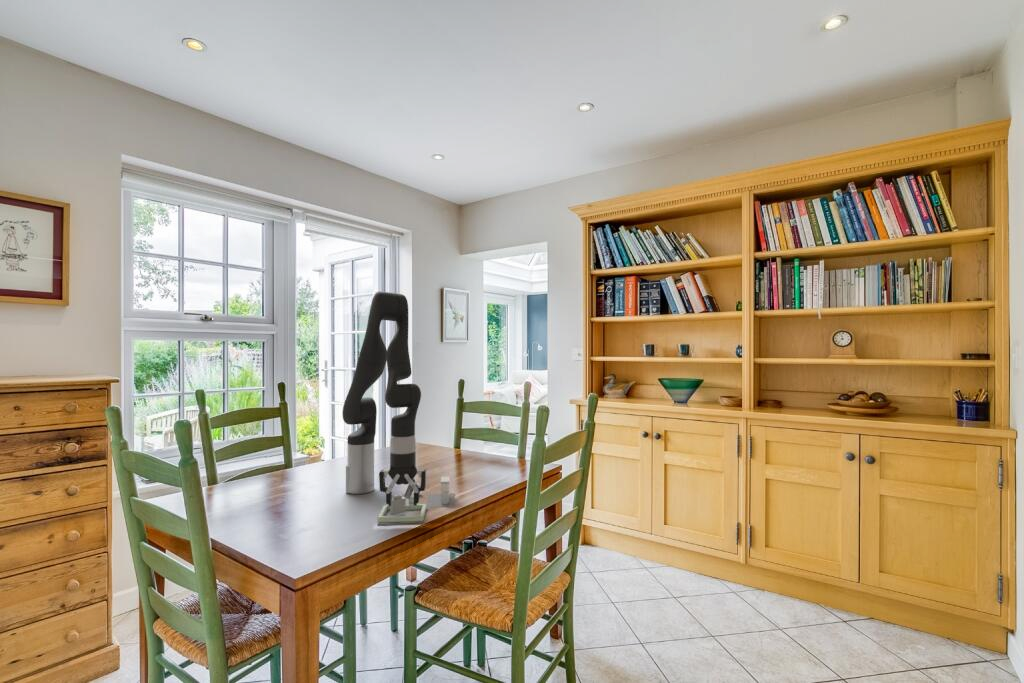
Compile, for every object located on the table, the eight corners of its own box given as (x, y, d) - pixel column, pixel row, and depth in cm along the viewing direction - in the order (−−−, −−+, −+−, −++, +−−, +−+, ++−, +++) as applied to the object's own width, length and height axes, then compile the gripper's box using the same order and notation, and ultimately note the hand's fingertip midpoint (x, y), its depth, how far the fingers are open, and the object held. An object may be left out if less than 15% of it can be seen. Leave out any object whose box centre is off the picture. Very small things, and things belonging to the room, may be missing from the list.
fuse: (440, 503, 158) (440, 481, 158) (441, 497, 164) (441, 476, 164) (448, 502, 158) (449, 481, 158) (449, 497, 164) (449, 476, 164)
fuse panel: (395, 512, 153) (395, 496, 153) (402, 498, 167) (402, 484, 167) (453, 510, 154) (453, 495, 154) (455, 496, 168) (455, 482, 168)
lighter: (392, 515, 145) (392, 488, 145) (390, 513, 146) (390, 486, 146) (414, 510, 149) (415, 484, 149) (412, 509, 150) (412, 482, 150)
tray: (377, 526, 141) (377, 517, 141) (384, 513, 152) (384, 505, 152) (422, 524, 142) (422, 516, 142) (426, 511, 153) (426, 503, 153)
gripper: (376, 453, 143) (376, 509, 143) (425, 452, 144) (425, 508, 144) (381, 447, 151) (380, 501, 150) (428, 447, 152) (427, 500, 152)
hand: (402, 504), depth 147 cm, fingers closed on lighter, 7 cm apart
